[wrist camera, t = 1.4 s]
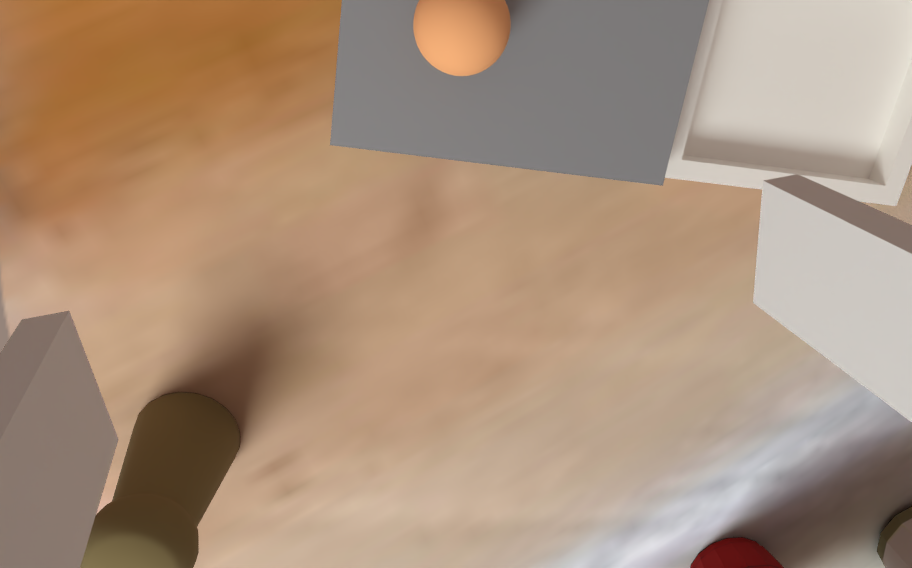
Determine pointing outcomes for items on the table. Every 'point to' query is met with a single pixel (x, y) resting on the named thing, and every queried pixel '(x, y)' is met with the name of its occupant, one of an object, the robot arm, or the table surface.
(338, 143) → the deck
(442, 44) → the ball
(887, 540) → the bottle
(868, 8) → the tray
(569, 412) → the table surface
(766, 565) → the plastic cup
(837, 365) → the robot arm
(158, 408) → the cork
